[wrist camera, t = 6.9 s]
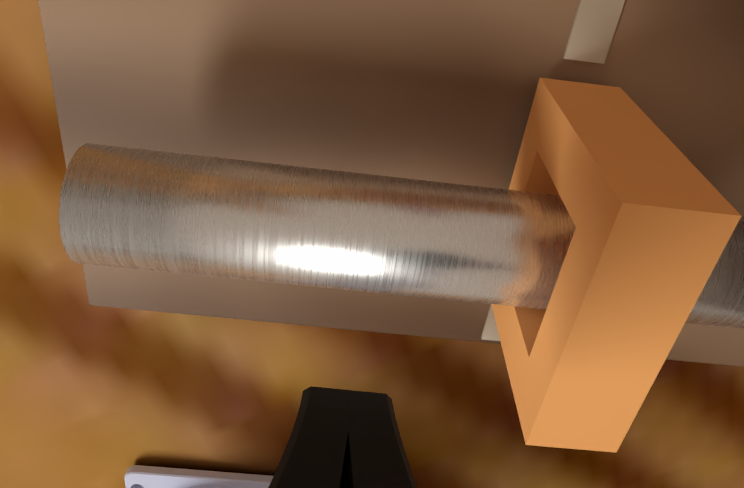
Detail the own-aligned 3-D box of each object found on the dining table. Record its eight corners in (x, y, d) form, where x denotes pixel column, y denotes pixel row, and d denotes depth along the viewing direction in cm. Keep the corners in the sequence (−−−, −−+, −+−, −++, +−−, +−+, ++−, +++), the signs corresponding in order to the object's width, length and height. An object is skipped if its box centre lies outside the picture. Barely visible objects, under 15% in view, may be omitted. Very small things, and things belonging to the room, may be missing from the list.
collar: (551, 282, 18) (616, 452, 13) (484, 276, 18) (525, 444, 13) (620, 87, 15) (741, 216, 10) (539, 77, 15) (622, 202, 10)
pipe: (808, 293, 16) (874, 364, 14) (113, 222, 15) (70, 287, 13) (863, 209, 15) (945, 274, 13) (100, 123, 14) (50, 178, 12)
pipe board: (795, 352, 22) (963, 560, 16) (101, 285, 20) (-20, 487, 14) (1038, -3, 15) (1494, 114, 9) (36, -142, 14) (-245, -116, 8)
